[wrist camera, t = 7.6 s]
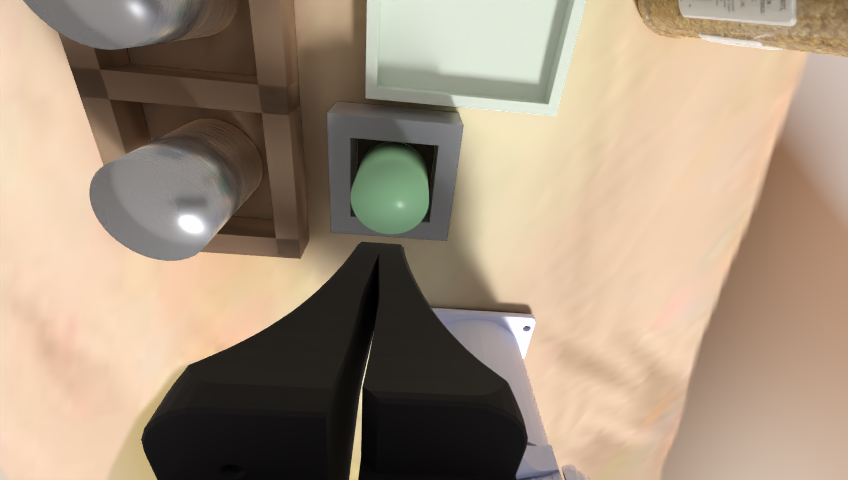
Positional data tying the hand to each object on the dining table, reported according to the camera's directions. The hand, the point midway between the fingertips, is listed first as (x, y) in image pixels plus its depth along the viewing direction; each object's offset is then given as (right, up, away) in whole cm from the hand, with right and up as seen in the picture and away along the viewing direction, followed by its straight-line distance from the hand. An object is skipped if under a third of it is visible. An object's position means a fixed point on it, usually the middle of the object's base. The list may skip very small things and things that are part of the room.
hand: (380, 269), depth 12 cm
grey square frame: (0, +5, +8) cm, 10 cm away
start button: (0, +4, +7) cm, 8 cm away
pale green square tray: (+4, +12, +5) cm, 13 cm away
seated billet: (-9, +5, +8) cm, 13 cm away
